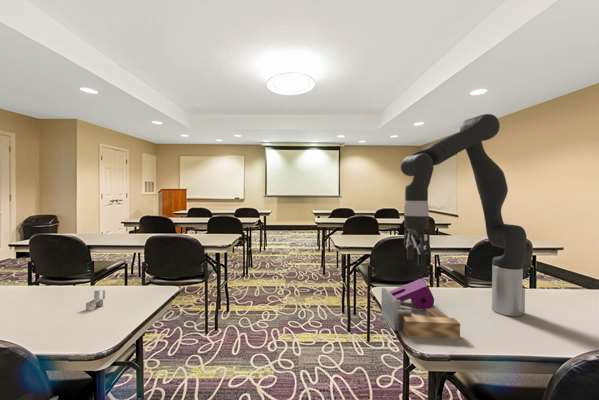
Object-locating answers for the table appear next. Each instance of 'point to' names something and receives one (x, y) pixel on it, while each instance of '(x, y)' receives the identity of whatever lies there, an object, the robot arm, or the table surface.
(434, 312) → the rest block
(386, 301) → the bracket
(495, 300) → the robot arm
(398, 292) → the mounting bracket
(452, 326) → the rail
